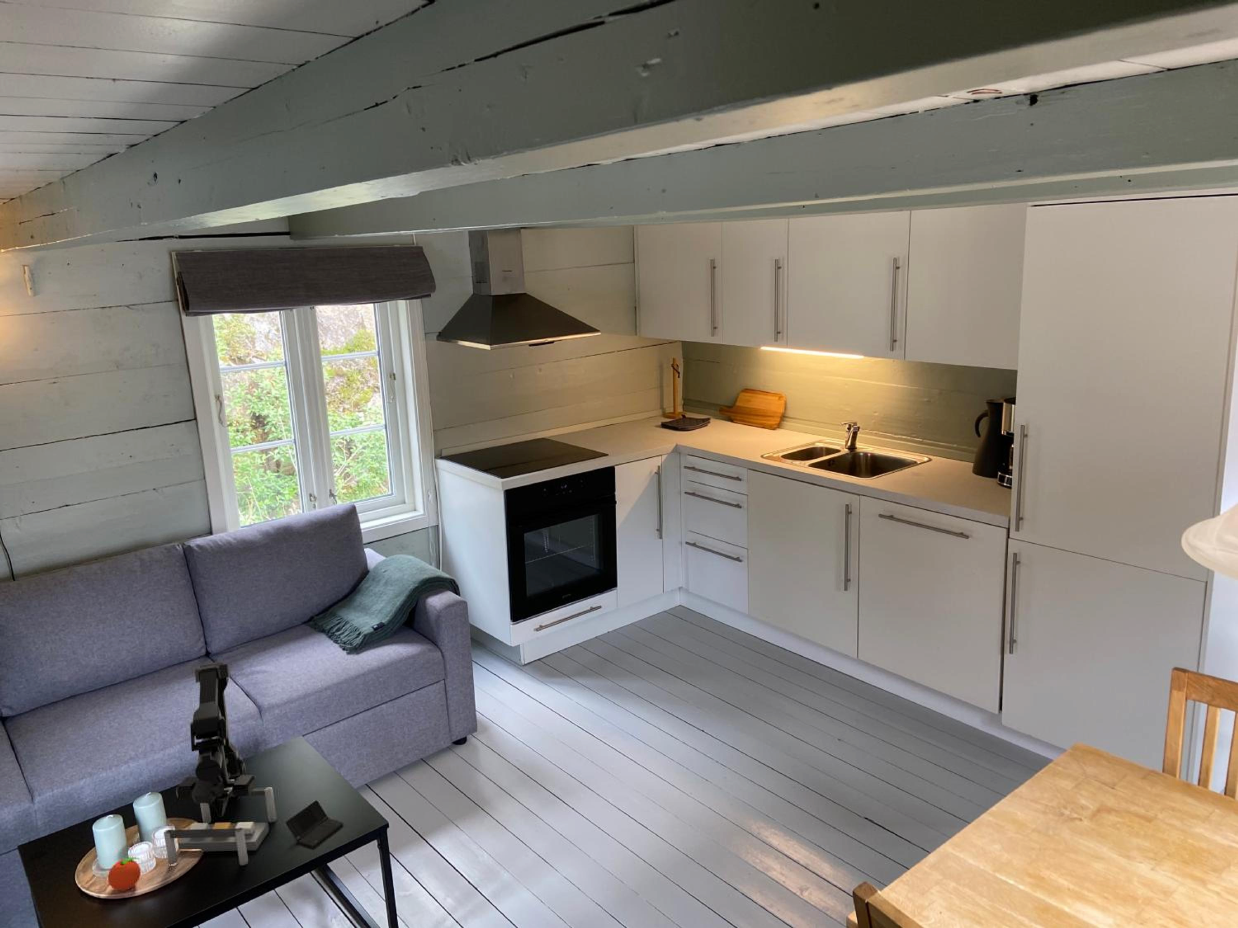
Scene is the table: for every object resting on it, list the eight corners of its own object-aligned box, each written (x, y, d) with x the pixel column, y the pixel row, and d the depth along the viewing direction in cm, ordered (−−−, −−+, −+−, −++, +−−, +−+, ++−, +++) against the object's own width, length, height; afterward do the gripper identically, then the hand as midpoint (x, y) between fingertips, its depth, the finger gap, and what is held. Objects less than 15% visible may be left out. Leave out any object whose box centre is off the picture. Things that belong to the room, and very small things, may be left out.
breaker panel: (194, 832, 241) (193, 824, 241) (268, 830, 241) (267, 822, 240) (179, 851, 233) (178, 842, 233) (256, 849, 233) (255, 841, 232)
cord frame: (205, 819, 247) (200, 788, 245) (277, 817, 246) (273, 786, 244) (167, 866, 228) (162, 833, 226) (246, 864, 227) (241, 832, 225)
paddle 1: (195, 829, 238) (192, 823, 237) (210, 829, 238) (207, 822, 236) (191, 835, 236) (189, 829, 235) (207, 835, 236) (204, 829, 235)
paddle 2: (240, 828, 237) (238, 822, 236) (255, 828, 237) (253, 821, 236) (237, 834, 236) (235, 828, 234) (252, 834, 235) (250, 828, 234)
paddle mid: (217, 829, 238) (215, 822, 236) (232, 828, 237) (230, 822, 236) (214, 835, 236) (212, 828, 235) (229, 835, 236) (227, 828, 234)
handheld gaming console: (320, 843, 232) (299, 810, 233) (302, 857, 234) (281, 823, 235) (347, 823, 242) (327, 791, 244) (329, 836, 245) (309, 804, 246)
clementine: (137, 871, 226) (133, 846, 225) (152, 881, 222) (148, 855, 221) (104, 890, 220) (100, 864, 218) (119, 900, 216) (114, 874, 214)
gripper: (160, 779, 225) (170, 835, 228) (235, 777, 224) (243, 833, 227) (183, 755, 235) (191, 809, 239) (254, 753, 235) (261, 807, 238)
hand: (221, 815), depth 235 cm, fingers closed
